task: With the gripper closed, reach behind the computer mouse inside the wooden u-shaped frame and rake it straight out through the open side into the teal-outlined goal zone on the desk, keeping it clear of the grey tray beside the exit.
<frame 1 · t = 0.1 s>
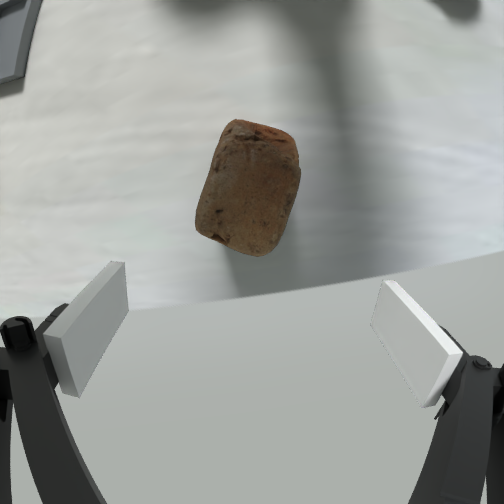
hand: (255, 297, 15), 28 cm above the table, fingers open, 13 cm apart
block: (246, 167, 40), on the table
grey tray: (10, 38, 29), on the table
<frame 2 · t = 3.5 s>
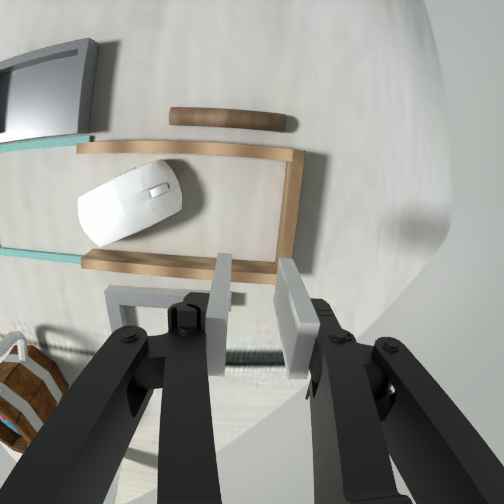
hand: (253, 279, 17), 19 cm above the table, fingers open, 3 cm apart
wooden u-shaped frame: (184, 205, 34), on the table
drinking glass: (112, 447, 50), on the table
computer mouse: (131, 200, 34), on the table
mug: (36, 360, 42), on the table
grey l-shaped bar: (167, 295, 38), on the table
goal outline: (35, 201, 33), on the table
walnut dowel: (226, 121, 30), point 2 cm above the table, tilted 156°
grey tray: (38, 95, 28), on the table
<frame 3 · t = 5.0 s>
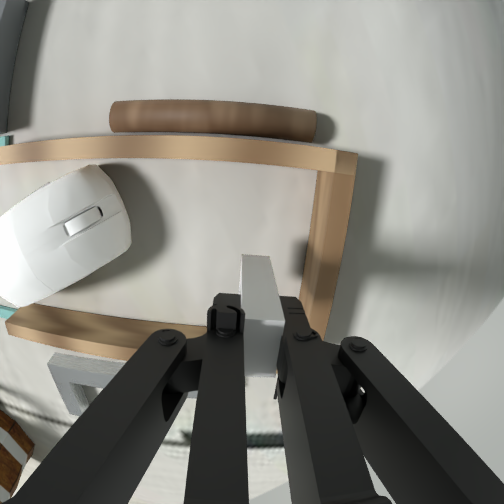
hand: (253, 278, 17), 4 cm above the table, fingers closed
wooden u-shaped frame: (145, 245, 20), on the table
computer mouse: (60, 232, 20), on the table
grey l-shaped bar: (133, 371, 24), on the table
walnut dowel: (210, 130, 18), on the table, tilted 55°
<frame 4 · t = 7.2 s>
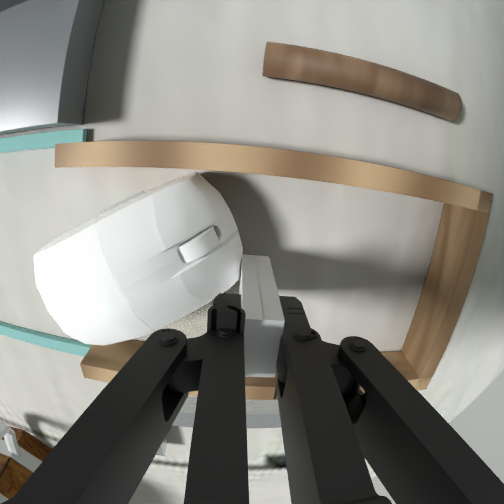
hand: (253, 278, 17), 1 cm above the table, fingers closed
wooden u-shaped frame: (276, 272, 19), on the table
computer mouse: (137, 251, 18), on the table
mug: (31, 444, 26), on the table
grey l-shaped bar: (231, 405, 22), on the table
walnut dowel: (368, 67, 15), on the table, tilted 58°
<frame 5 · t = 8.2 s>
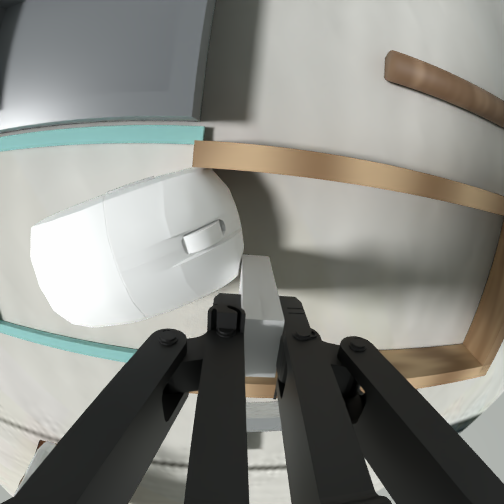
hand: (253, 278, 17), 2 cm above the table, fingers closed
wooden u-shaped frame: (382, 277, 19), on the table
computer mouse: (135, 236, 18), on the table, touching wooden u-shaped frame, gripper
mug: (75, 459, 27), on the table
grey l-shaped bar: (318, 404, 23), on the table
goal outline: (65, 252, 18), on the table
walnut dowel: (457, 100, 15), on the table, tilted 19°
grey tray: (75, 40, 13), on the table
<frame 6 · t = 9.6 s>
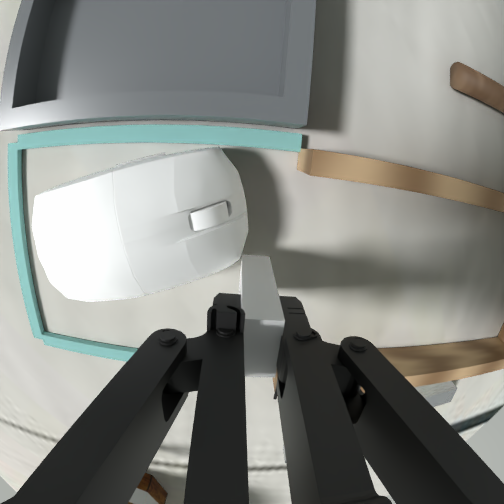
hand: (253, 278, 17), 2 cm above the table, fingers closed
wooden u-shaped frame: (442, 278, 20), on the table
computer mouse: (139, 215, 18), on the table
mug: (114, 469, 27), on the table
grey l-shaped bar: (375, 400, 23), on the table
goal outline: (138, 258, 18), on the table
grey tray: (152, 30, 14), on the table
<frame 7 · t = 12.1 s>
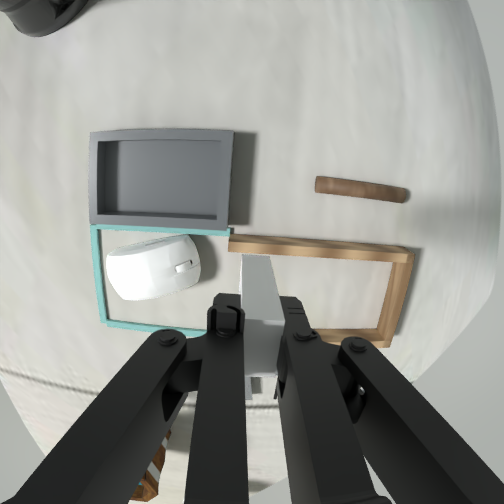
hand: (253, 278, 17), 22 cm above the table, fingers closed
wooden u-shaped frame: (316, 291, 41), on the table
computer mouse: (154, 261, 40), on the table
mug: (137, 413, 49), on the table
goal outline: (160, 281, 41), on the table
walnut dowel: (360, 197, 37), point 1 cm above the table, tilted 86°
grey tray: (160, 176, 36), on the table
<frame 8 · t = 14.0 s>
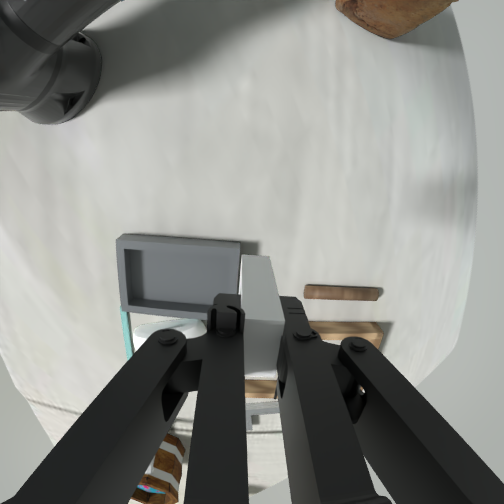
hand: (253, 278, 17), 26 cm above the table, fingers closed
wooden u-shaped frame: (303, 356, 51), on the table
computer mouse: (171, 334, 49), on the table
mug: (157, 436, 59), on the table
grey l-shaped bar: (281, 403, 55), on the table
walnut dowel: (340, 289, 48), on the table, tilted 11°
block: (365, 13, 33), on the table
grey tray: (179, 274, 45), on the table
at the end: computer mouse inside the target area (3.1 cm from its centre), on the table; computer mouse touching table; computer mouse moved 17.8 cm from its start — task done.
